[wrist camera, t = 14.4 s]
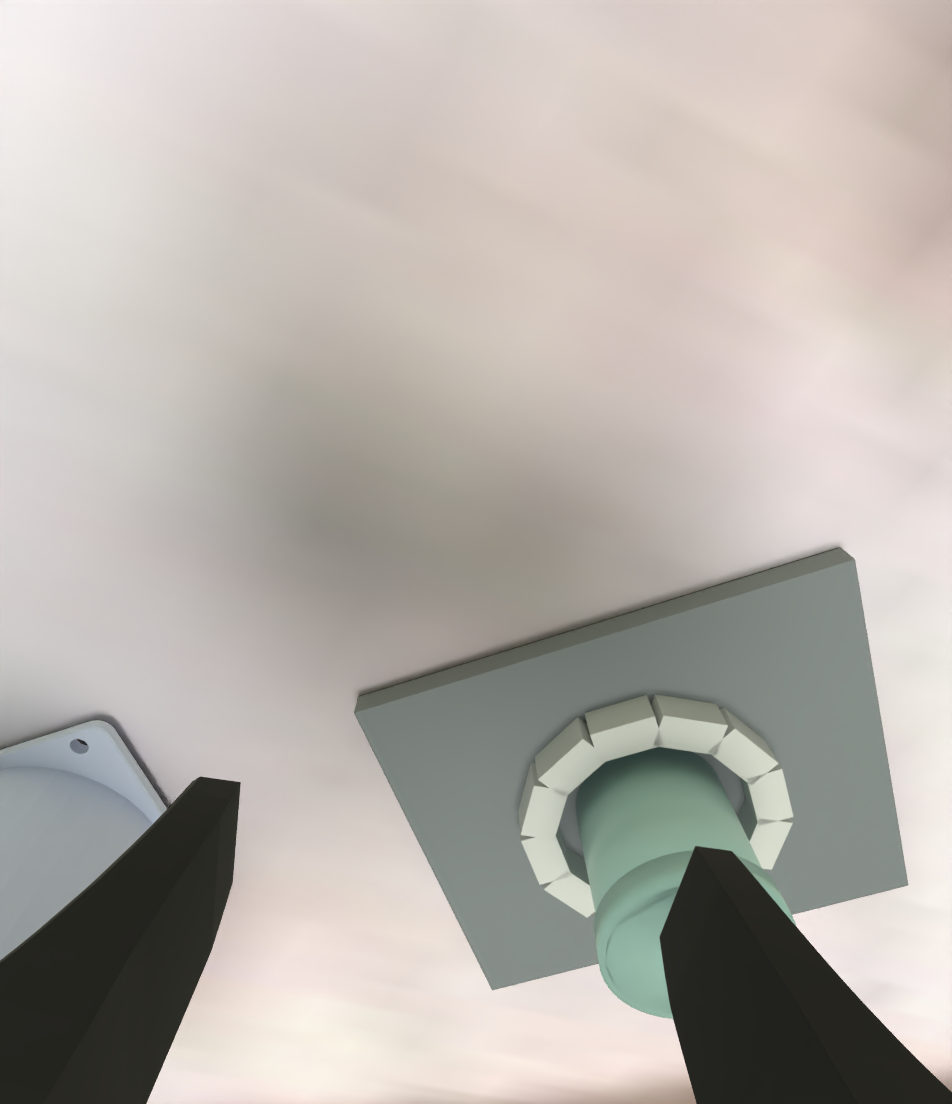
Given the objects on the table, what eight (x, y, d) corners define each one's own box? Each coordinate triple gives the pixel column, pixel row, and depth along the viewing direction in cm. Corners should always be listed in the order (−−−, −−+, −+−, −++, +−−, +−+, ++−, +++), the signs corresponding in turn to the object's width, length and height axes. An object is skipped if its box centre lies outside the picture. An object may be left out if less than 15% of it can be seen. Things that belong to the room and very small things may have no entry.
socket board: (491, 968, 26) (493, 1018, 24) (358, 697, 21) (348, 734, 20) (895, 865, 24) (926, 911, 23) (840, 547, 20) (874, 575, 18)
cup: (760, 791, 22) (839, 937, 17) (652, 886, 23) (698, 1044, 19) (644, 711, 21) (696, 844, 16) (538, 815, 22) (557, 965, 18)
